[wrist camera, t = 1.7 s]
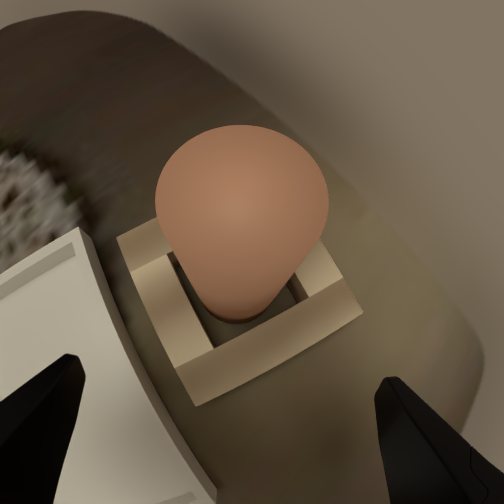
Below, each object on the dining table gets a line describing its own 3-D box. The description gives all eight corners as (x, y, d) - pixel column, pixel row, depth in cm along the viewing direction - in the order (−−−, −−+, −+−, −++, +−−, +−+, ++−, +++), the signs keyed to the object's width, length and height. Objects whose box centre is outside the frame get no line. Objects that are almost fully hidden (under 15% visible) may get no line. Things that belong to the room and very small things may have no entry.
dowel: (286, 301, 21) (360, 228, 9) (220, 337, 20) (201, 312, 8) (250, 239, 22) (273, 107, 10) (186, 271, 21) (132, 163, 9)
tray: (217, 489, 17) (215, 504, 14) (68, 528, 14) (56, 540, 12) (92, 239, 22) (78, 226, 19) (-28, 312, 19) (-46, 306, 16)
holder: (346, 318, 21) (363, 312, 18) (200, 399, 19) (195, 407, 16) (267, 187, 24) (272, 165, 21) (129, 252, 21) (116, 237, 19)
